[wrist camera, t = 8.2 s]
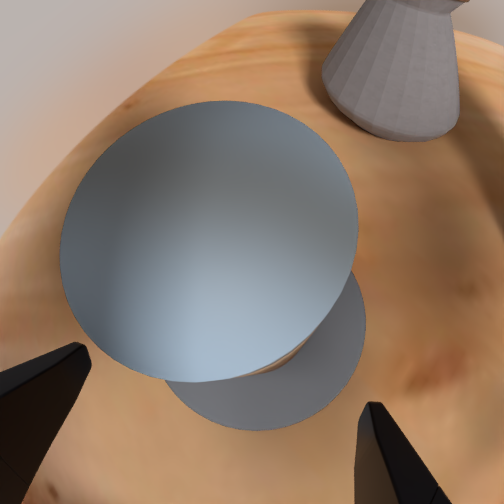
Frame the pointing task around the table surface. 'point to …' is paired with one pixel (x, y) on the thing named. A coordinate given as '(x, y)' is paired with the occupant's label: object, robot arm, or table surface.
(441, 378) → the table surface
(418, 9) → the coffee pot
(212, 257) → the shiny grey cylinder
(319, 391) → the felt mat
